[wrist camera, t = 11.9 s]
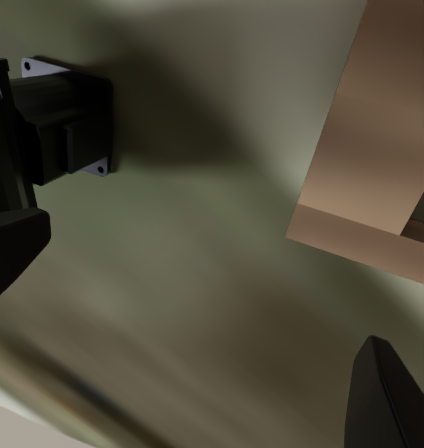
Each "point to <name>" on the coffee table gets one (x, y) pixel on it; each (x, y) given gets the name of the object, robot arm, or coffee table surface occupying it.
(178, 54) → the coffee table surface
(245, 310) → the coffee table surface
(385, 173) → the keyhole board
